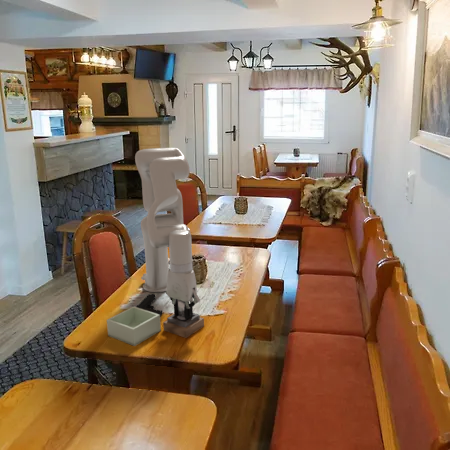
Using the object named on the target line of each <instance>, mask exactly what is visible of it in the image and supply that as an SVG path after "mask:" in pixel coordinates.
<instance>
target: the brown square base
mask: <svg viewBox="0 0 450 450" xmlns="http://www.w3.org/2000/svg"><path fill="white" fill-rule="evenodd" d="M166 318H167V319H166V320H165V321H163V323H162V324H163V331H165V332H168V333H171V334H174V335H177V336H180V337H182V338H189V337H190V336H192V334H194V333H196V332H198V331H199V330H201V329H202V328H203V327H205V318H203V317H201V315H200V314H198V313H196V312H195V313H194V312H193V316H192V317H191V318H190V319H189V320H187V321H185V322H183V321H180V320H177V316H175V315H174V313H173V314H172V315H170V316H169V317H166Z"/></svg>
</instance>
